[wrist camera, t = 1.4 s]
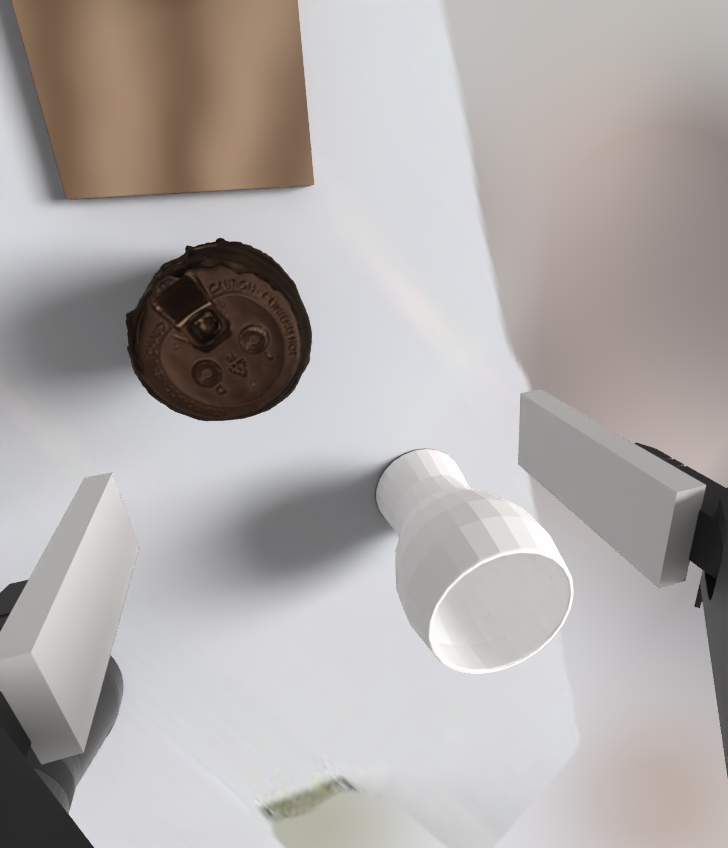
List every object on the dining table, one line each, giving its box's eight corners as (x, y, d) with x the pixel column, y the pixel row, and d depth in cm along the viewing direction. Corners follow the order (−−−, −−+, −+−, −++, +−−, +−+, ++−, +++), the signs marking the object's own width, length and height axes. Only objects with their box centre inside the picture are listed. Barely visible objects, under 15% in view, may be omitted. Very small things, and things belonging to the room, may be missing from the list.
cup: (339, 470, 40) (391, 599, 27) (454, 411, 41) (562, 509, 27) (386, 559, 45) (451, 706, 32) (489, 505, 46) (596, 628, 32)
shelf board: (74, 199, 29) (51, 197, 26) (-23, -157, 23) (-70, -223, 19) (310, 185, 32) (320, 182, 28) (280, -136, 26) (288, -191, 22)
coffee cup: (156, 222, 31) (109, 229, 19) (291, 235, 33) (324, 249, 21) (163, 359, 34) (127, 438, 22) (286, 363, 36) (311, 437, 24)
